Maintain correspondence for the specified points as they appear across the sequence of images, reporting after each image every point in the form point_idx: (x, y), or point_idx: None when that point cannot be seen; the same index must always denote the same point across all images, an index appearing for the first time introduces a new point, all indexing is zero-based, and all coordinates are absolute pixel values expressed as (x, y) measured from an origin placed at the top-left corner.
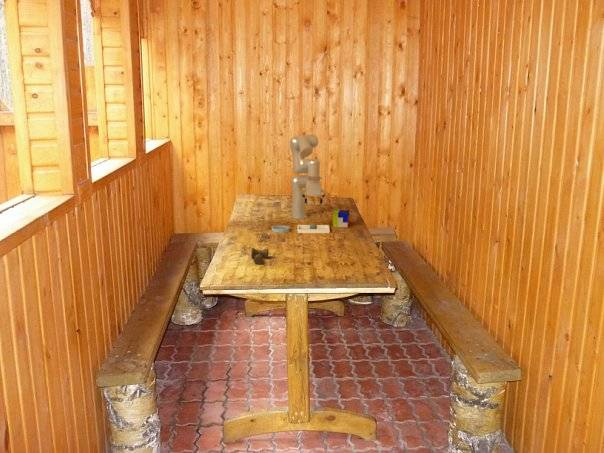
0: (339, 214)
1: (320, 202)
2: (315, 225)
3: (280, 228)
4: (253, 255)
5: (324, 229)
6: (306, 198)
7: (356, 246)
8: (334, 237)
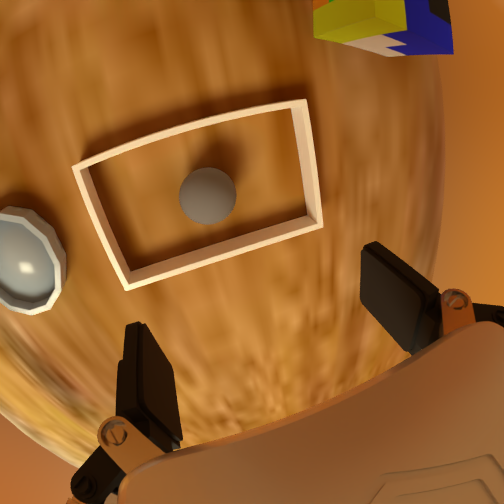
0: (406, 35)
1: (378, 317)
2: (230, 211)
3: (5, 239)
4: None
5: (294, 235)
6: (169, 442)
7: (386, 352)
8: (336, 291)
